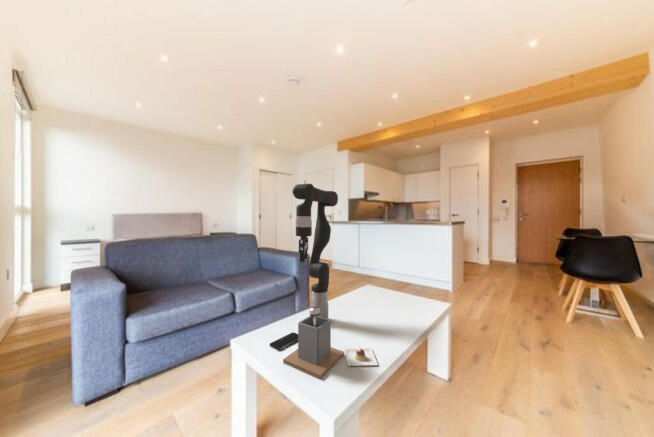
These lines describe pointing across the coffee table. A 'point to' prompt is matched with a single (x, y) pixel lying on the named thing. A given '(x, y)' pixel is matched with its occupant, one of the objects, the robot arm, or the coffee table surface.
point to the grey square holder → (314, 348)
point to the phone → (285, 341)
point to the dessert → (360, 356)
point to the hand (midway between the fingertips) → (303, 260)
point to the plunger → (314, 313)
